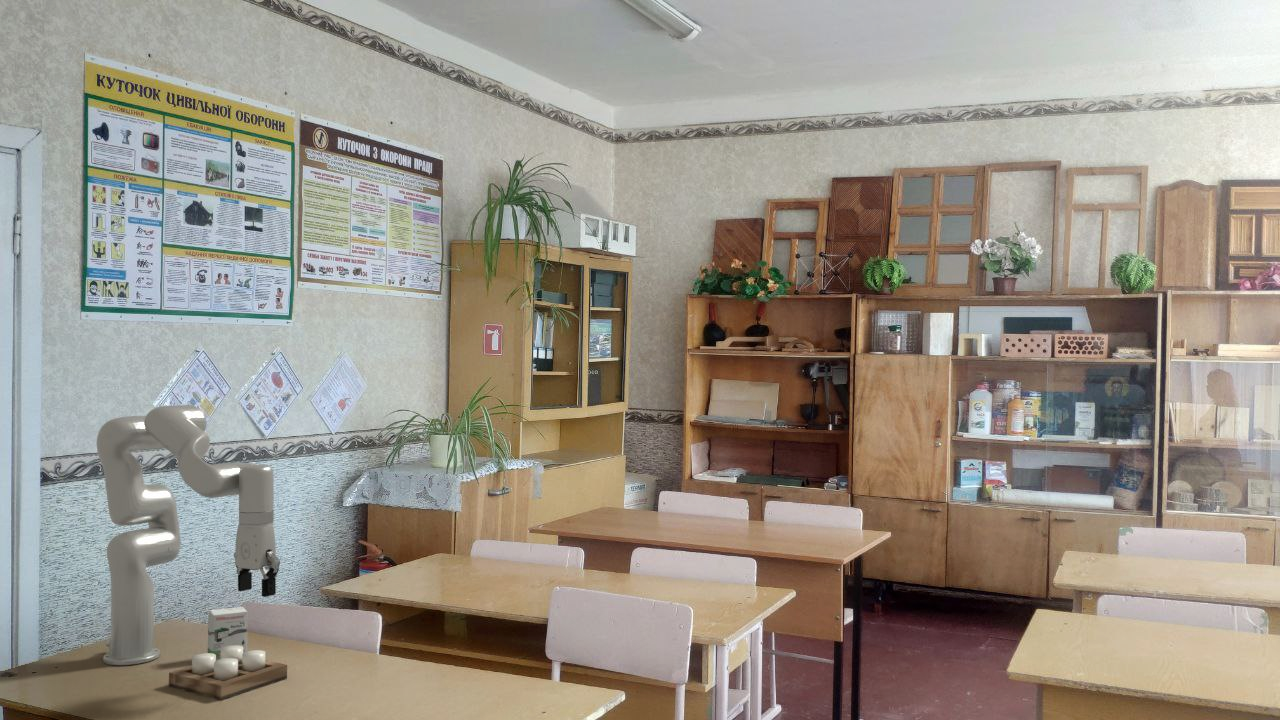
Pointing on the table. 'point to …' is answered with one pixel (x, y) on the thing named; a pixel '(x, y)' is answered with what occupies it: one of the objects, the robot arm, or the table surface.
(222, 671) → the button
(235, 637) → the ink box
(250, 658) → the button
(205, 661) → the button
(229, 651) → the button
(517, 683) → the table surface
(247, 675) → the button board
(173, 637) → the table surface
